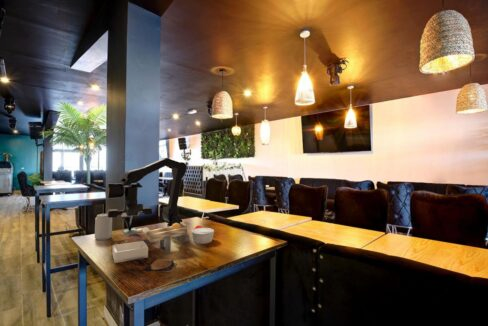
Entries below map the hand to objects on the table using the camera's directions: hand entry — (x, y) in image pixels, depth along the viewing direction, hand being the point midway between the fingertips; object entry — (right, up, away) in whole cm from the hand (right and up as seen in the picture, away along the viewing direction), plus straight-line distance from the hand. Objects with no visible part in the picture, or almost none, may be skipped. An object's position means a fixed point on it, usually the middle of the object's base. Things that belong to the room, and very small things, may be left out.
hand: (129, 230), depth 114 cm
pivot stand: (+19, -7, -7) cm, 21 cm away
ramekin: (+33, -8, +7) cm, 35 cm away
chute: (+13, -4, -3) cm, 14 cm away
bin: (+7, -7, -14) cm, 17 cm away
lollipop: (+30, -8, +22) cm, 38 cm away
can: (-17, -7, +8) cm, 20 cm away
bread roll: (+23, -8, -25) cm, 35 cm away
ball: (+23, +2, -4) cm, 24 cm away
